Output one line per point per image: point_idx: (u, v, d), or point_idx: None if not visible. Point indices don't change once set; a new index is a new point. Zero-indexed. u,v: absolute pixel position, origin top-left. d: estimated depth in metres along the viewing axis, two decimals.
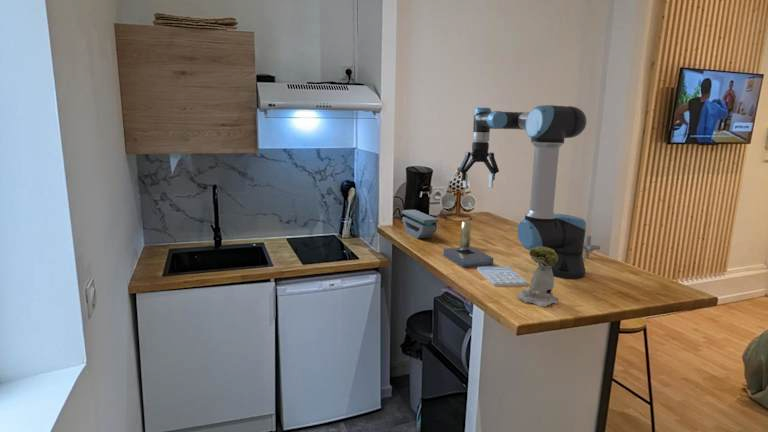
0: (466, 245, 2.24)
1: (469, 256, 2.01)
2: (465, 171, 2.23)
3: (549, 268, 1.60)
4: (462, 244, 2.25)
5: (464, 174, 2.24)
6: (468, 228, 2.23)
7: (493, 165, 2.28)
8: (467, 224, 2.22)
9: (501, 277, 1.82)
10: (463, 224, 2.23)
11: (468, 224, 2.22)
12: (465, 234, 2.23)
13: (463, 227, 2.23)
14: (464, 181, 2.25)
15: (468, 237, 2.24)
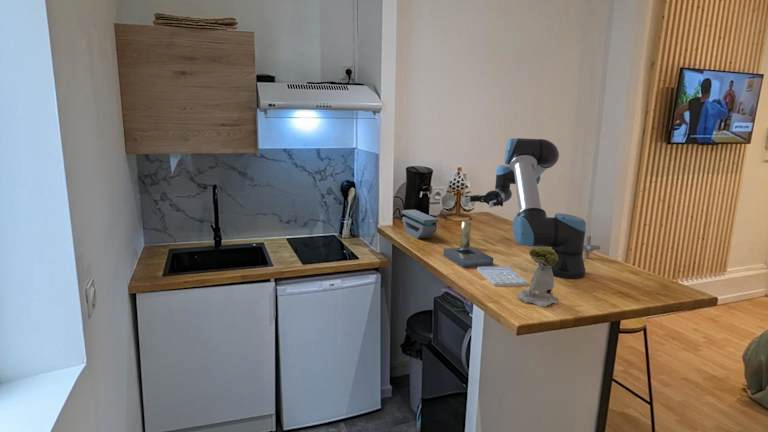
0: (466, 245, 2.24)
1: (469, 256, 2.01)
2: (469, 196, 2.40)
3: (549, 268, 1.60)
4: (462, 244, 2.25)
5: (467, 198, 2.40)
6: (468, 228, 2.23)
7: None
8: (467, 224, 2.22)
9: (501, 277, 1.82)
10: (463, 224, 2.23)
11: (468, 224, 2.22)
12: (465, 234, 2.23)
13: (463, 227, 2.23)
14: None
15: (468, 237, 2.24)
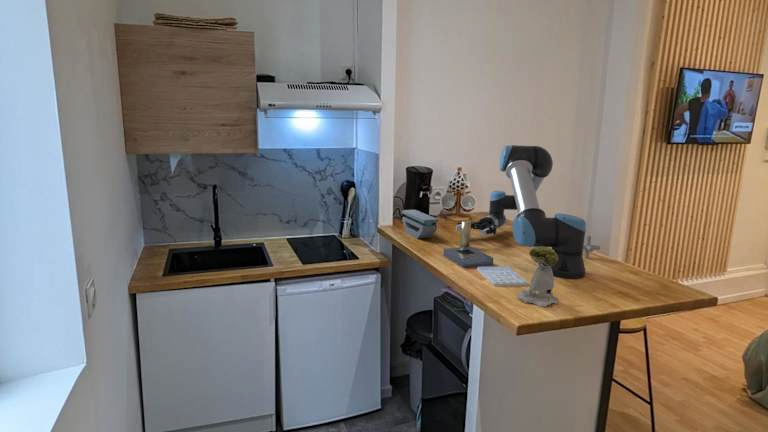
0: (466, 245, 2.24)
1: (469, 256, 2.01)
2: None
3: (549, 268, 1.60)
4: (462, 244, 2.25)
5: (460, 224, 2.38)
6: (468, 228, 2.23)
7: (493, 229, 2.33)
8: (467, 224, 2.22)
9: (501, 277, 1.82)
10: (463, 224, 2.23)
11: (468, 224, 2.22)
12: (465, 234, 2.23)
13: (463, 227, 2.23)
14: None
15: (468, 237, 2.24)
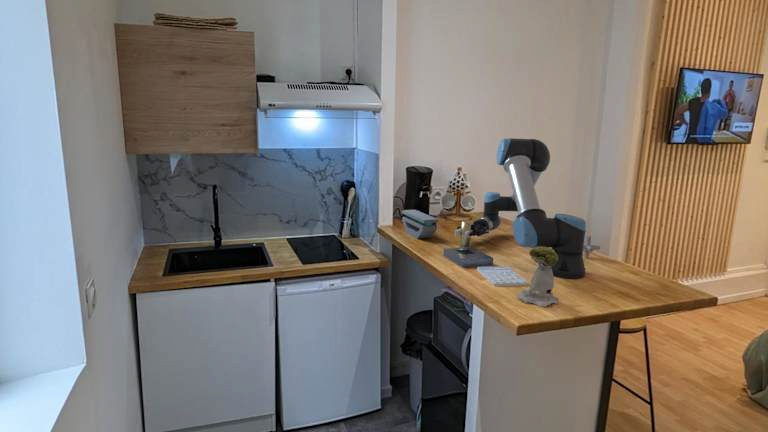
0: (466, 245, 2.24)
1: (469, 256, 2.01)
2: None
3: (549, 268, 1.60)
4: (462, 244, 2.25)
5: None
6: (468, 228, 2.23)
7: None
8: (467, 224, 2.22)
9: (501, 277, 1.82)
10: (463, 224, 2.23)
11: (468, 224, 2.22)
12: None
13: (463, 227, 2.23)
14: None
15: (468, 237, 2.24)
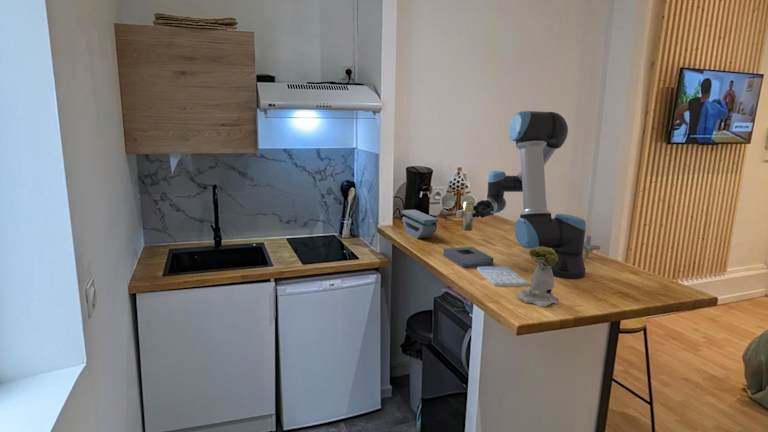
0: (468, 227, 2.03)
1: (469, 256, 2.01)
2: None
3: (549, 268, 1.60)
4: (464, 226, 2.04)
5: None
6: (471, 208, 2.02)
7: None
8: (470, 204, 2.01)
9: (501, 277, 1.82)
10: (465, 204, 2.02)
11: (471, 204, 2.01)
12: None
13: (465, 207, 2.02)
14: None
15: None
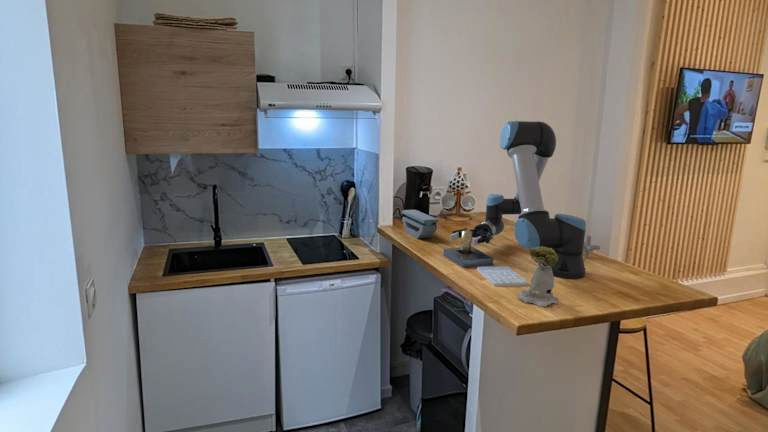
0: None
1: (469, 256, 2.01)
2: (457, 232, 2.12)
3: (549, 268, 1.60)
4: None
5: None
6: (469, 238, 2.04)
7: None
8: (468, 234, 2.04)
9: (501, 277, 1.82)
10: (463, 234, 2.04)
11: (469, 234, 2.04)
12: (465, 245, 2.05)
13: (463, 237, 2.05)
14: None
15: (469, 248, 2.05)
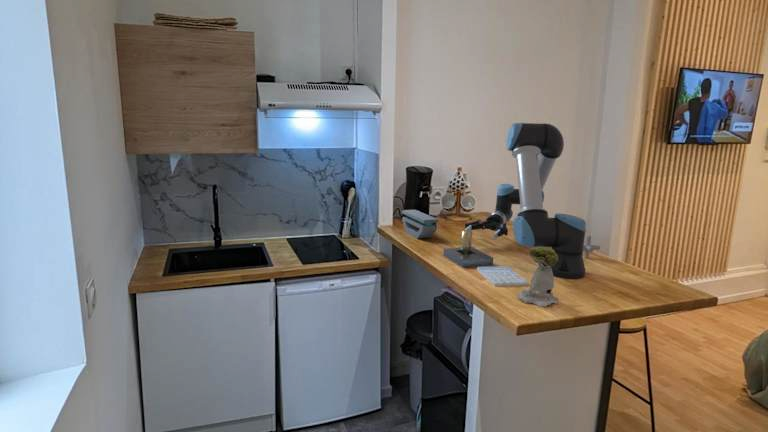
0: None
1: (469, 256, 2.01)
2: (469, 225, 2.24)
3: (549, 268, 1.60)
4: None
5: (468, 226, 2.23)
6: (469, 238, 2.04)
7: (503, 229, 2.18)
8: (468, 234, 2.04)
9: (501, 277, 1.82)
10: (463, 234, 2.04)
11: (469, 234, 2.04)
12: (465, 245, 2.05)
13: (463, 237, 2.05)
14: None
15: (469, 248, 2.05)
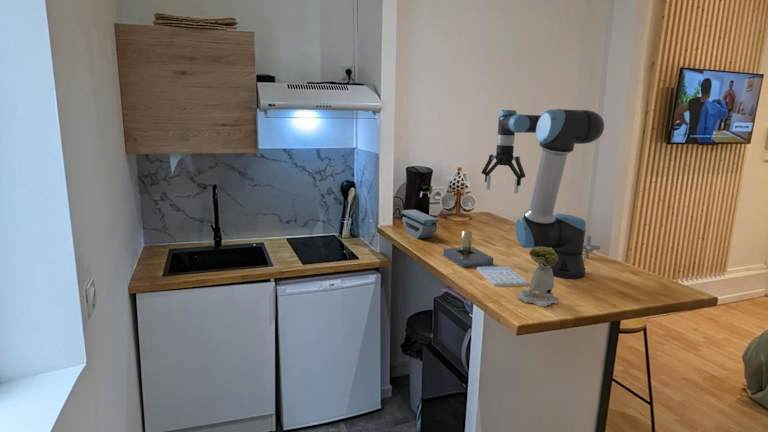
0: None
1: (469, 256, 2.01)
2: (486, 173, 2.24)
3: (549, 268, 1.60)
4: None
5: (486, 176, 2.25)
6: (469, 238, 2.04)
7: None
8: (468, 234, 2.04)
9: (501, 277, 1.82)
10: (463, 234, 2.04)
11: (469, 234, 2.04)
12: (465, 245, 2.05)
13: (463, 237, 2.05)
14: None
15: (469, 248, 2.05)
